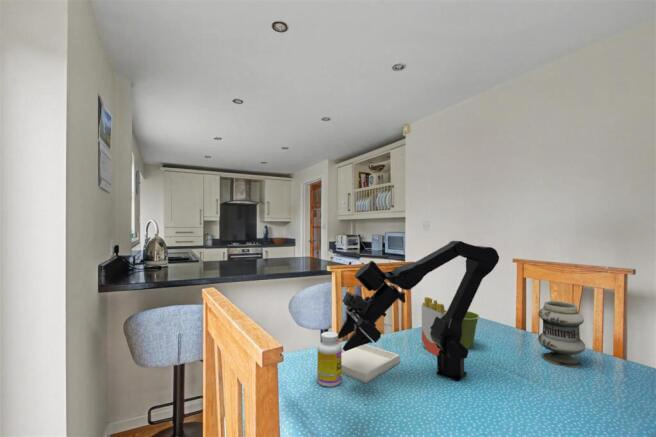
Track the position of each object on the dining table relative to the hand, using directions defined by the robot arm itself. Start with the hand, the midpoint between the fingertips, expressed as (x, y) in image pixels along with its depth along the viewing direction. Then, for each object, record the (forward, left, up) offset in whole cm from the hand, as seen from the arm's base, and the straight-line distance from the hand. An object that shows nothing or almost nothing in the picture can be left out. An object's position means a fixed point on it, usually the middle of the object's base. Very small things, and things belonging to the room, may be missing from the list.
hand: (340, 343), depth 87 cm
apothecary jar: (-43, -59, -10) cm, 73 cm away
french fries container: (-11, -38, -10) cm, 41 cm away
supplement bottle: (+2, +2, -10) cm, 11 cm away
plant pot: (-15, -50, -10) cm, 53 cm away
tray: (+3, -13, -10) cm, 16 cm away
